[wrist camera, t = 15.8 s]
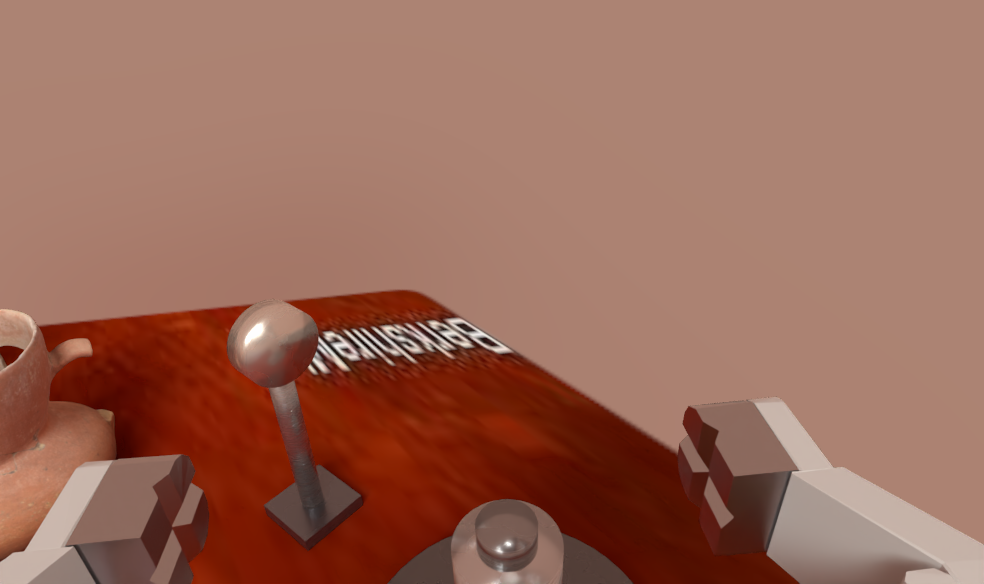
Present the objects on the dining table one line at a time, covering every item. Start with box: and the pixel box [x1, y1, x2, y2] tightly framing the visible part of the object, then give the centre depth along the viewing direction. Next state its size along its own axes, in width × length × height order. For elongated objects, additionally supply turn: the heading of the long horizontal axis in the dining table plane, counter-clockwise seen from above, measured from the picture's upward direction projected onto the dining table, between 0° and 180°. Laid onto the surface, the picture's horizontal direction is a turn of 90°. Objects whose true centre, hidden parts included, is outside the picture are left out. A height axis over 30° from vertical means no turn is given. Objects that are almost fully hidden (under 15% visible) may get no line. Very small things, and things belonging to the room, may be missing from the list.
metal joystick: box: [227, 299, 363, 550], centre depth 42 cm, size 5×5×18 cm
